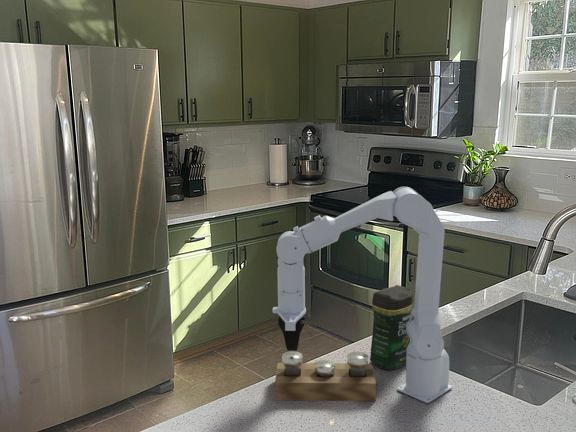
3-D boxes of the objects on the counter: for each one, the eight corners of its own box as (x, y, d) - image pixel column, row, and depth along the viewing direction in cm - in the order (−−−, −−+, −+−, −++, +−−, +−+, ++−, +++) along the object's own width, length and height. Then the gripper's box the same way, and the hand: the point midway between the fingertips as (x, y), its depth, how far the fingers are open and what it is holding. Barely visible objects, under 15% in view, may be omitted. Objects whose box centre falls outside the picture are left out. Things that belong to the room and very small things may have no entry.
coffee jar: (391, 374, 128) (393, 297, 125) (364, 363, 134) (365, 289, 130) (416, 361, 134) (419, 287, 131) (390, 351, 140) (392, 280, 137)
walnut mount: (371, 380, 126) (371, 363, 125) (375, 401, 117) (376, 383, 116) (278, 379, 127) (277, 363, 126) (275, 400, 118) (274, 382, 117)
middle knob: (334, 383, 124) (334, 360, 123) (335, 393, 119) (335, 369, 118) (314, 383, 124) (314, 360, 123) (314, 393, 120) (314, 369, 119)
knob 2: (366, 375, 123) (366, 351, 122) (368, 385, 119) (368, 360, 118) (346, 375, 123) (346, 351, 122) (347, 385, 119) (347, 360, 118)
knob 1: (302, 375, 124) (302, 351, 123) (302, 384, 119) (302, 360, 118) (283, 374, 124) (282, 351, 123) (281, 384, 120) (281, 360, 118)
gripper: (274, 278, 125) (275, 335, 128) (269, 300, 111) (271, 364, 113) (306, 278, 125) (306, 335, 127) (305, 300, 110) (305, 364, 113)
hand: (292, 349), depth 120 cm, fingers closed
